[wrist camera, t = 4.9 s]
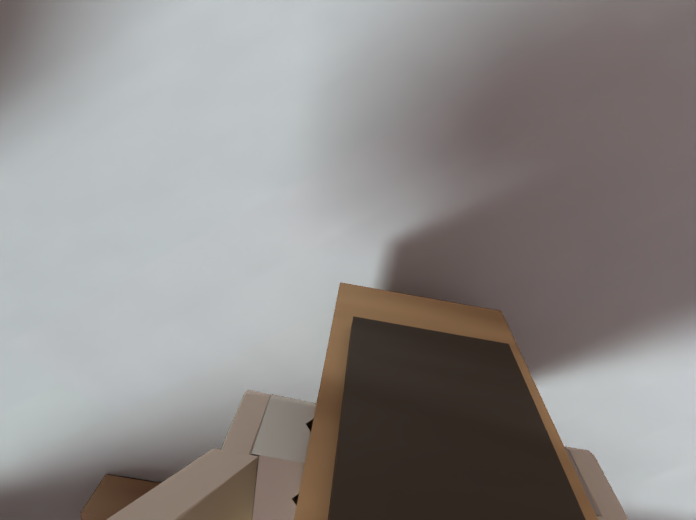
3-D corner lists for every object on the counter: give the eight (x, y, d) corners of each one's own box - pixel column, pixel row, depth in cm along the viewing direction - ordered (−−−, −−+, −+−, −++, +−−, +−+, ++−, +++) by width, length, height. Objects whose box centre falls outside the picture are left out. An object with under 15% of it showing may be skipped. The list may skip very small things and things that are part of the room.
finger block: (459, 433, 13) (557, 917, 6) (318, 408, 13) (234, 860, 6) (504, 300, 11) (727, 746, 4) (342, 271, 11) (264, 665, 4)
